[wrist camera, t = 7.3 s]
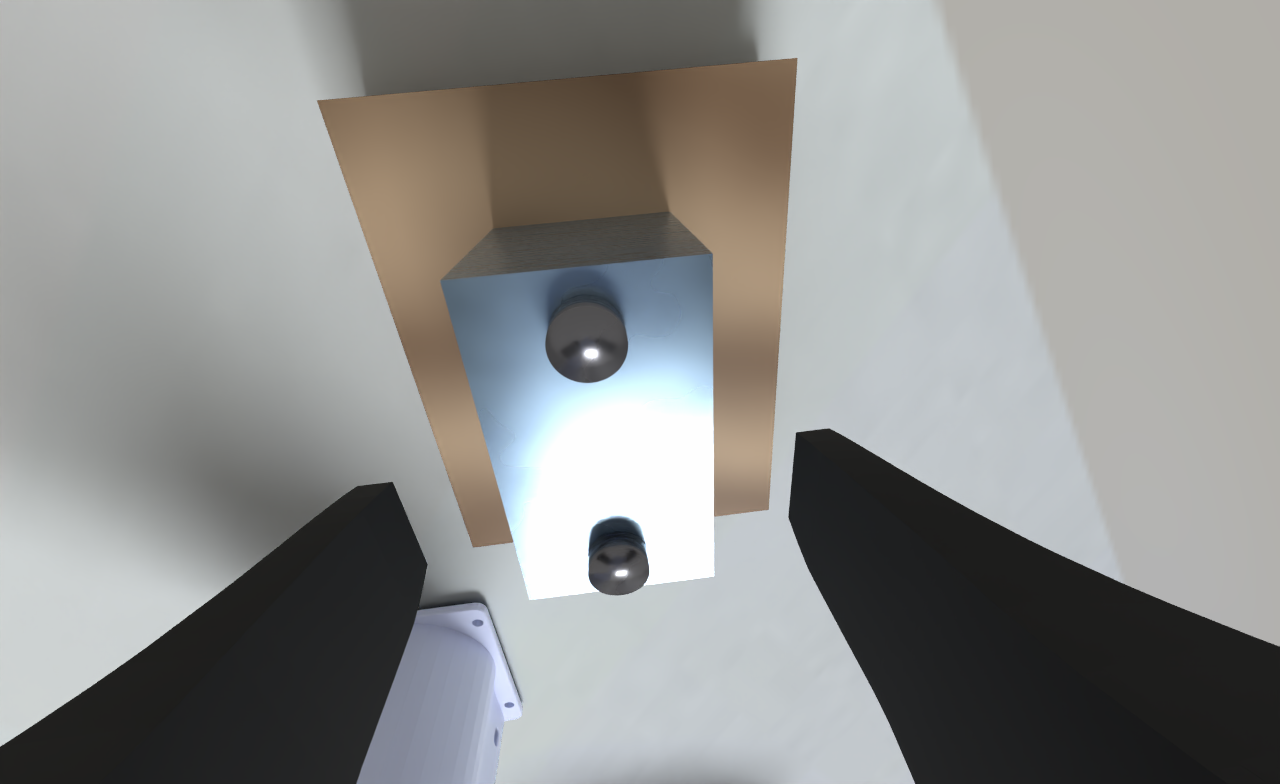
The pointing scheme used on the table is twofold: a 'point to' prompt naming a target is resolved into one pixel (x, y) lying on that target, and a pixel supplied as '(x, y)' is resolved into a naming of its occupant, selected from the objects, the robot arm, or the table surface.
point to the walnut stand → (578, 190)
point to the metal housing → (594, 396)
